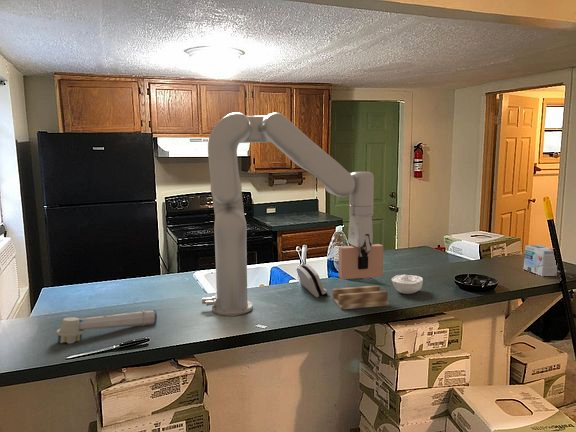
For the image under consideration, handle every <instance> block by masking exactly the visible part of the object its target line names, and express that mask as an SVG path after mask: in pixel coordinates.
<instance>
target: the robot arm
mask: <svg viewBox="0 0 576 432" xmlns="http://www.w3.org/2000/svg"><path fill="white" fill-rule="evenodd" d="M258 143H260V144H262V143H272V145H274V146H275V147H276V148H277V149H278V150H279V151H280V152H282V153H283V155H285V156H286V157H287V158H288V159H290V161H291V162H293V163H294V164H296V165H297V166H298V167H299V168H301V169H302V170H305V171H306V172H308V173H310V174H311V175H312V176H314V177H315V178H316V179H317V180H319V181H320V182H321V183H323V188H324V189H325V190H326V191H325V192H328V193H329V194H331V195H333V196H337V197H339V198H346V197H348V199H349V200H348V202H349V203H348V204H349V205H348V208H349V209H348V213H349V214H348V216H349V220H348V231H347V233H348V235H347V236H348V237H347V241H348V243H349V244H350V246H355V247H356V248H359V257H358V269H368V256H369V252H370V251H371V248H370V247H371V246H372V244H373V241H374V240H373V239H374V235H373V234H374V233H373V232H374V230H373V229H374V228H373V218H372V217H373V216H374V195H375V194H374V188H375V187H374V186H375V185H374V181H375V179H374V173H373V172H370V171H353V172H349V171H348V170H347V169H345V168H344V167H343V165H341V164H340V163H339V162H338V161H337V160H336V159H334V158H333V157H332V156H331V155H330V154H328V153H327V152H326V151H324V149H323V148H321V147H320V146H319V145H318V144H316V143H315V142H314V141H312V139H311V138H309V137H308V135H306V134H305V133H304V132H303V131H301V130H300V129H299V128H298V127H297V126H296V125H295V124H294V123H293V122H292V121H291V120H290V119H289V118H287V117H286V116H285V115H284V114H283V113H281V112H272V113H271V112H270V113H268V114H267V115H245V114H244V113H242V112H238V111H237V112H236V111H235V112H231V113H228V114H227V115H225V116H224V117H222V118H221V119H220V120H219V121H218V122H217V123H216V124H215V125H214V127H213V128H212V129H211V133H210V134H209V138H208V143H207V155H208V166H209V167H208V168H209V177H210V192H211V193H210V194H211V197H212V204H213V210H214V211H213V212H214V213H213V214H214V224H213V225H214V227H213V229H214V230H213V231H214V233H213V234H214V253H215V255H214V256H215V281H216V282H215V283H216V292H215V294H214V296H213V295H212V297H208V296H207V297H202V298H201V304H202V305H206V306H211V311H212V312H213V313H214V314H216V315H220V316H228V317H229V316H230V317H231V316H232V317H233V316H241V315H244V314H247V313H249V312H251V311H252V310H253V302H251V301H250V300H248V267H247V266H248V262H247V261H248V258H247V255H248V252H247V235H248V234H247V231H248V228H247V227H248V226H247V220H246V217H245V211H244V202H243V192H242V183H241V179H240V172H239V165H238V164H239V163H238V162H239V161H238V146H239V145H240V144H258ZM363 245H365V247H362V246H363ZM362 249H364V250H363V251H362Z"/></svg>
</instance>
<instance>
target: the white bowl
mask: <svg viewBox="0 0 576 432" xmlns="http://www.w3.org/2000/svg"><path fill="white" fill-rule="evenodd" d="M423 280H424V278H423V277H422V276H419V275H415V274H414V275H412V274H397V275H394V276H393V277H391V282H392V286H393V287H394V289H396V290H397V291H398V292H399V293H401V294H403V295H405V294H406V295H410V294H414V293H416V292H419V291H420V290H421V289H422V287H423V282H424V281H423Z"/></svg>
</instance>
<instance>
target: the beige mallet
mask: <svg viewBox="0 0 576 432" xmlns="http://www.w3.org/2000/svg"><path fill="white" fill-rule="evenodd" d="M157 314H158V313H157V311H156V310H154V309H153V310H152V309H151V310H144V309H141V310H140V311H132V312H124V313H116V314H109V315H108V314H107V315H99V316H91V317H83V318H82V317H81V318H79V317H77V316H76V317H74V316H72V317H65V318H63V319H62V321H61V322H60V323H61V325H60V328H59V329H56V332H55V333H56V335H57V343H60V344H64V343H67V344H75V342H80V341H81V340H82V336H83V334H84V333H85V331H86V330H89V331H90V330H101V329H102V330H103V329H114V328H126V327H127V328H128V327H138V326H139V327H140V326H141V327H142V328H143V327H145V326H150V325H156V324H157V321H158V315H157Z"/></svg>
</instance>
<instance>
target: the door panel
mask: <svg viewBox="0 0 576 432" xmlns="http://www.w3.org/2000/svg"><path fill="white" fill-rule="evenodd" d="M362 247H365V245H363V246H362ZM370 248H371V251H370V252H369V256H368V269H358V257H359V248H356V247H355V246H353V245H342V246H338V278H339V279H341V280H351V279H362V278H365V279H367V278H377V277H378V278H379V277H383V276H384V245H383V244H380V243H376V244H372V246H371V247H370ZM363 250H364V249H362V251H363Z"/></svg>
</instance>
